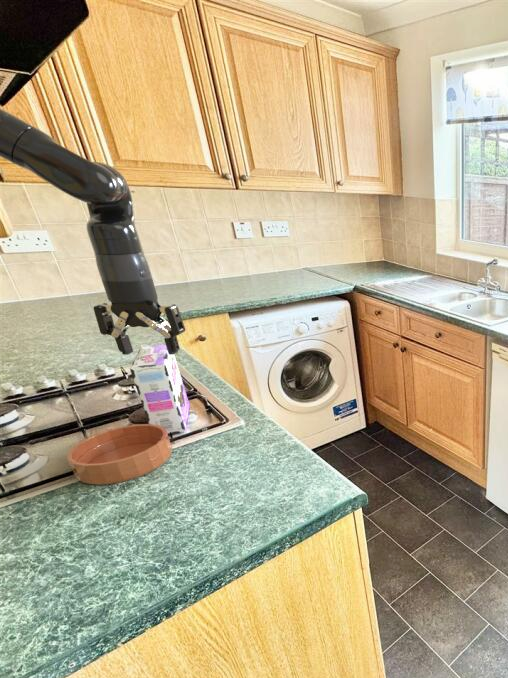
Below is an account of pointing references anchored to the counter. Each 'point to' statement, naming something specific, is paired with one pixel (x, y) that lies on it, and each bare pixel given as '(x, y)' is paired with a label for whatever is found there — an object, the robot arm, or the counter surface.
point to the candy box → (161, 388)
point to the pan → (120, 454)
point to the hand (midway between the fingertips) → (151, 353)
